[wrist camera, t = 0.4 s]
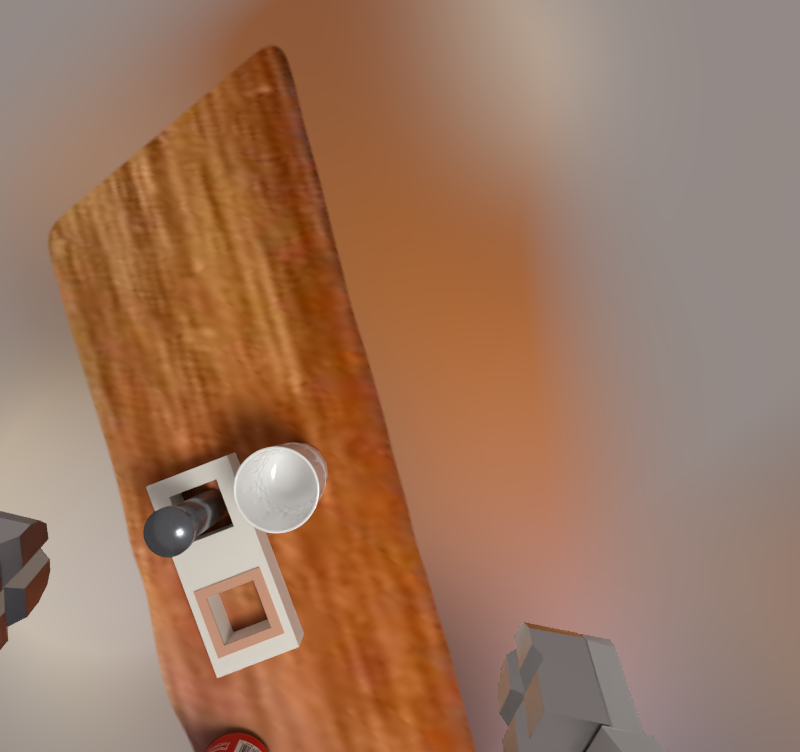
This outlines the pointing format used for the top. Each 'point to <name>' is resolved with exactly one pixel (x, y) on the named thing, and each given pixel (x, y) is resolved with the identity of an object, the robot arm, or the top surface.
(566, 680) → the robot arm
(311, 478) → the white cup
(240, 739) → the soda can
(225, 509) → the pin
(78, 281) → the top surface
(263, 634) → the dock board
